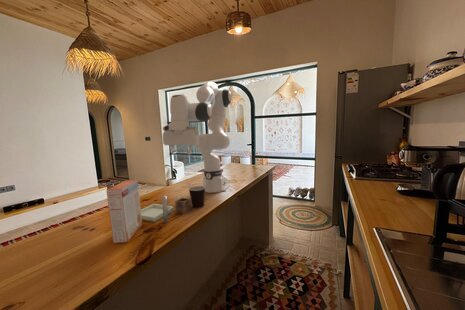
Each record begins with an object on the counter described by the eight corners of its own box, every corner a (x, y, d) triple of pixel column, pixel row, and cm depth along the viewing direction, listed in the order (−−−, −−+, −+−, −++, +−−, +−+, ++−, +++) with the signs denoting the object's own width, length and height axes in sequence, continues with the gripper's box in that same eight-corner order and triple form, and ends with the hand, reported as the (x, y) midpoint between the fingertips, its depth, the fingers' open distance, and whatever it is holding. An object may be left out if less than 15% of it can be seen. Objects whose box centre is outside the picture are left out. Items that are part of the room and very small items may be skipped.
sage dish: (154, 207, 109) (153, 203, 109) (174, 210, 104) (174, 206, 103) (132, 217, 96) (131, 213, 96) (154, 222, 91) (154, 217, 91)
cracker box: (129, 226, 88) (124, 180, 85) (142, 225, 88) (138, 179, 85) (111, 244, 74) (105, 189, 71) (128, 243, 74) (122, 188, 72)
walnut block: (182, 208, 106) (181, 197, 105) (190, 209, 104) (190, 198, 103) (175, 212, 101) (175, 201, 101) (184, 213, 99) (183, 202, 98)
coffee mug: (202, 209, 104) (201, 190, 103) (187, 208, 106) (186, 190, 105) (209, 201, 115) (208, 184, 114) (195, 201, 117) (194, 184, 116)
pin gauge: (165, 220, 92) (163, 195, 91) (169, 221, 91) (167, 195, 90) (162, 222, 90) (160, 196, 89) (166, 223, 90) (164, 197, 88)
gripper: (201, 126, 100) (202, 153, 101) (168, 127, 107) (169, 153, 109) (194, 125, 94) (195, 155, 95) (160, 127, 102) (161, 154, 103)
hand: (181, 154), depth 102 cm, fingers open, 8 cm apart
